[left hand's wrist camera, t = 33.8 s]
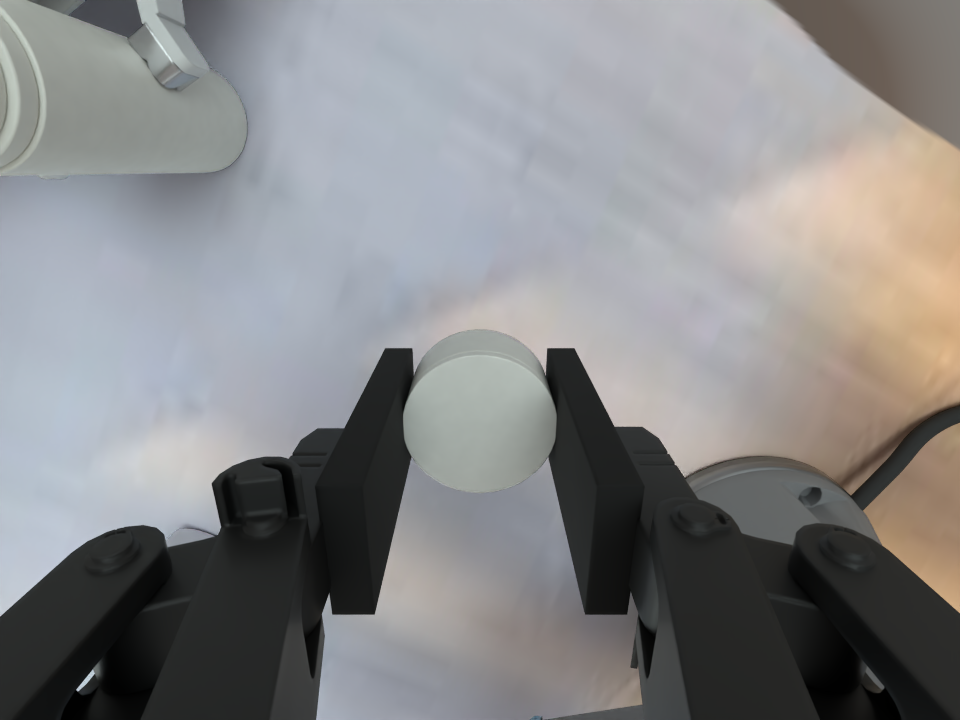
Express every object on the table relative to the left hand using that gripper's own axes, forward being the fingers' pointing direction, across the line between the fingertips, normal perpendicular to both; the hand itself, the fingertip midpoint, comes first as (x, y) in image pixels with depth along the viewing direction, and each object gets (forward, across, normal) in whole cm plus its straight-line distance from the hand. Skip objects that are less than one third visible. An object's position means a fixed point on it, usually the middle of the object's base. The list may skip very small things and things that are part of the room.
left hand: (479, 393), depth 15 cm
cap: (-2, 0, 0) cm, 2 cm away
